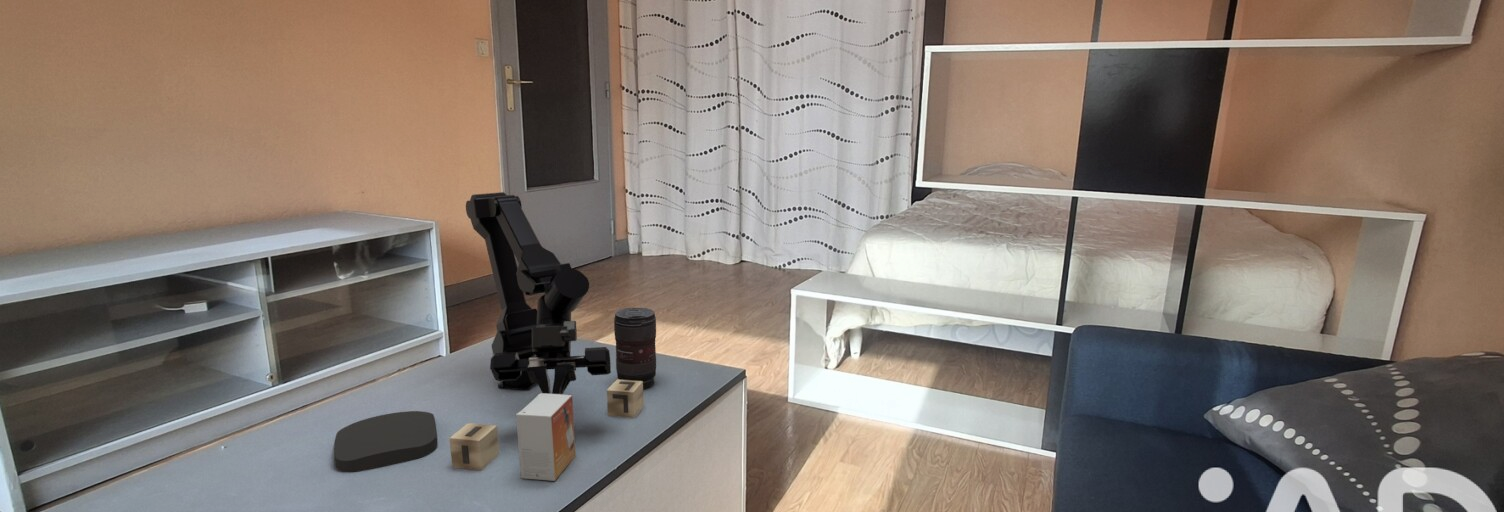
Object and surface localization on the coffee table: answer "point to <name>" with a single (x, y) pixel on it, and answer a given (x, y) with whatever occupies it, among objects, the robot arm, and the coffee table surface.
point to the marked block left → (474, 446)
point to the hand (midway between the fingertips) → (550, 413)
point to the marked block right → (625, 398)
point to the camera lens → (635, 345)
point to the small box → (546, 436)
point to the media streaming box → (385, 440)
